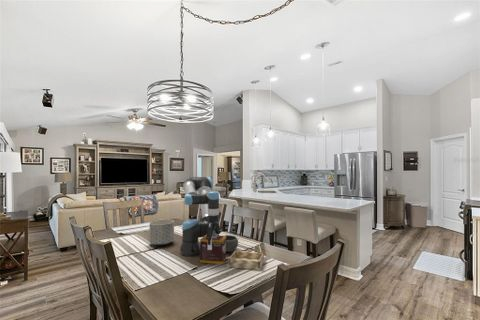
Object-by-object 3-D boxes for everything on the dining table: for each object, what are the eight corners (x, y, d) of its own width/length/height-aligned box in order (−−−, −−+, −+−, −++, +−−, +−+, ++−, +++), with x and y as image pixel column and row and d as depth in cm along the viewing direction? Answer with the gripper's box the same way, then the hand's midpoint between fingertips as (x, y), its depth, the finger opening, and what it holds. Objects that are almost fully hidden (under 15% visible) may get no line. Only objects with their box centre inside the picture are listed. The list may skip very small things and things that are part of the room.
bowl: (241, 249, 185) (241, 235, 186) (232, 255, 172) (232, 241, 172) (224, 246, 192) (224, 233, 192) (214, 252, 178) (214, 238, 178)
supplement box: (222, 264, 157) (222, 240, 157) (199, 262, 160) (199, 238, 160) (226, 258, 167) (226, 235, 167) (205, 256, 170) (205, 234, 170)
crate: (228, 266, 153) (228, 258, 153) (235, 258, 167) (235, 250, 167) (259, 270, 148) (259, 261, 148) (263, 260, 162) (263, 253, 162)
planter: (144, 246, 192) (144, 223, 193) (160, 239, 210) (160, 218, 210) (163, 249, 185) (163, 225, 186) (178, 242, 203) (178, 220, 203)
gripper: (211, 218, 151) (211, 253, 150) (224, 211, 175) (224, 241, 174) (200, 217, 153) (200, 252, 152) (214, 211, 177) (215, 240, 176)
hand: (213, 246), depth 163 cm, fingers open, 13 cm apart
